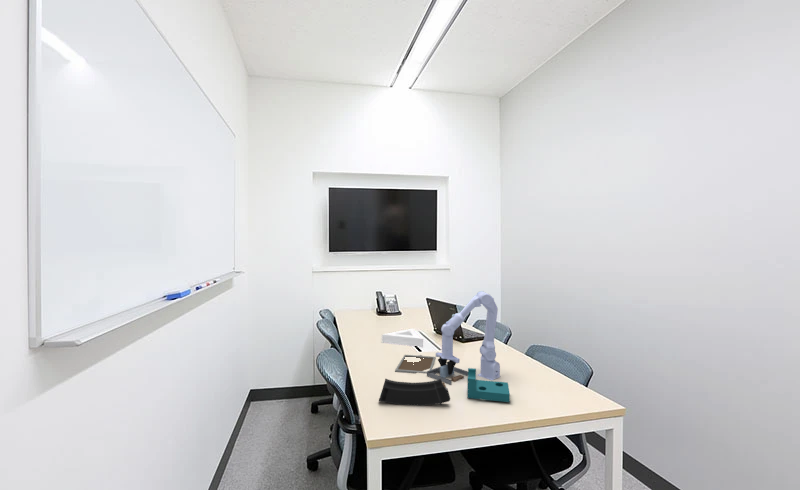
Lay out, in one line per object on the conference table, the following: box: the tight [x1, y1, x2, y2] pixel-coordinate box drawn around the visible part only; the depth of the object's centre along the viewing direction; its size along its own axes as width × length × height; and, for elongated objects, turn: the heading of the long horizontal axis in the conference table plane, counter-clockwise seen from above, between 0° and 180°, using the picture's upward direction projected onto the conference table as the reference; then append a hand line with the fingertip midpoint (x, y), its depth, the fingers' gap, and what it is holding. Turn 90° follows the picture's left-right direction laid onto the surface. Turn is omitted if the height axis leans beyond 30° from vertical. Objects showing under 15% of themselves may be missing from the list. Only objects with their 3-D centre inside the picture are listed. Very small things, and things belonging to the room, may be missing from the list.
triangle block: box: [381, 327, 424, 348], centre depth 247 cm, size 30×26×6 cm
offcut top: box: [450, 374, 465, 383], centre depth 181 cm, size 2×7×1 cm, turn 130°
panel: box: [439, 363, 455, 378], centre depth 186 cm, size 2×9×6 cm, turn 133°
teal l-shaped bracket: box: [466, 367, 511, 403], centre depth 161 cm, size 18×11×10 cm, turn 78°
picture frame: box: [394, 354, 437, 374], centre depth 205 cm, size 19×2×30 cm
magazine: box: [378, 378, 451, 407], centre depth 154 cm, size 17×3×30 cm
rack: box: [426, 366, 468, 386], centre depth 185 cm, size 16×17×3 cm
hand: (447, 373), depth 186 cm, fingers open, 4 cm apart
